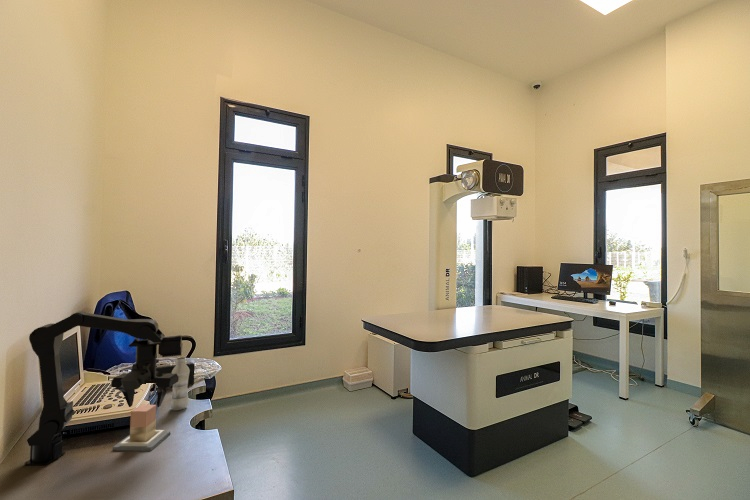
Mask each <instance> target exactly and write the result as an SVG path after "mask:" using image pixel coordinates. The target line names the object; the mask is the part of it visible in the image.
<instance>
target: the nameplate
mask: <svg viewBox="0 0 750 500" xmlns="http://www.w3.org/2000/svg"><path fill="white" fill-rule="evenodd" d="M186 365H187V366H188V367H189V370H190V372H189V378H188V384H187V385H188V386H192V385H194V383H195V366H196V365H195V363H194V362H189V363H188V362H186ZM175 366H176V364H172V365H164V366H156V372H158V375H157V376H156V377H161V376H163V375H165V374H172V370H173V369H174V367H175ZM169 389H173V385H172V386H170V388H169Z"/></svg>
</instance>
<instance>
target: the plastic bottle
mask: <svg viewBox="0 0 750 500" xmlns="http://www.w3.org/2000/svg"><path fill="white" fill-rule="evenodd" d="M186 364H187V357H184V356H183V357H182V356H180V357H177V358H175V365H176V366H175V367H174V369H173V370H172V374H177V375H178V382H177V383H175V384H174V385H173V388H172V391H171V392H172V393H171V398H170V403H169V404H170V409H171V410H172V411H181V410H184V409H186V408H187V407H188V405H189V403H190V401H189V393H188V386H189V385H187V384H188V378H189V372H190V370H189V367H188V366H187V365H186Z"/></svg>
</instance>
